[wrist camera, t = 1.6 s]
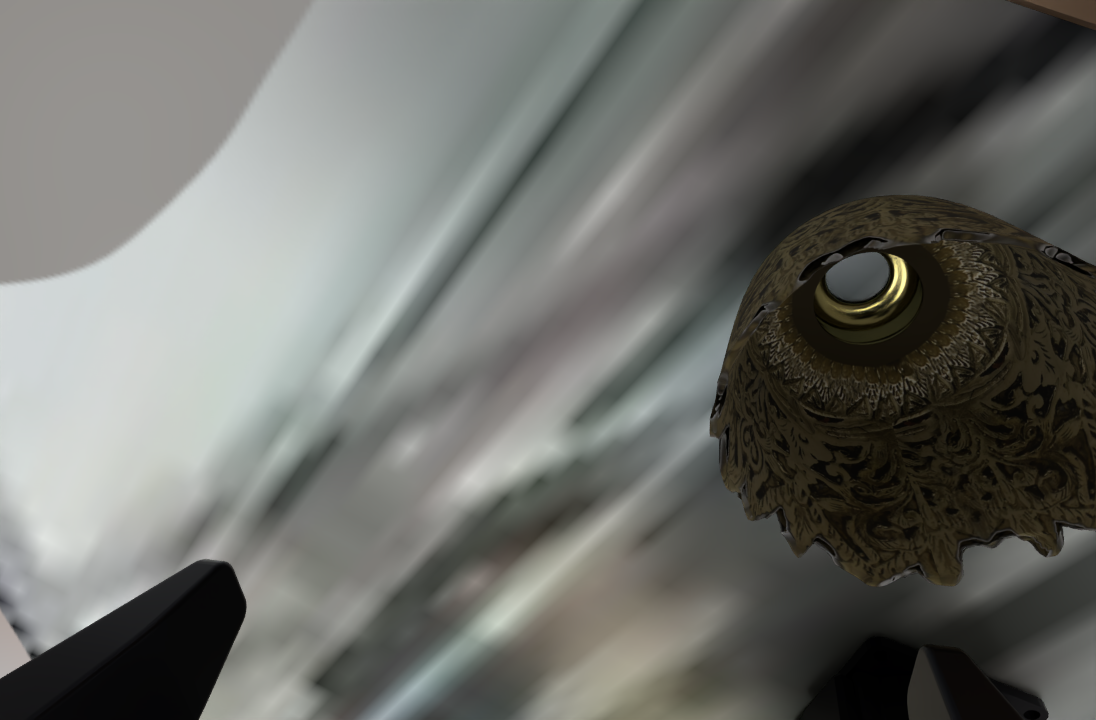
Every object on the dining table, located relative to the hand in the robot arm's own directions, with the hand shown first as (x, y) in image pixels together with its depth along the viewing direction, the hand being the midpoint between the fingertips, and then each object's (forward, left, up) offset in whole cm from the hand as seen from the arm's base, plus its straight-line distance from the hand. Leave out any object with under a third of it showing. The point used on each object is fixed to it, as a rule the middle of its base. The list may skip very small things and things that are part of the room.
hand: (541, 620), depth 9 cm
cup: (-5, -2, -14) cm, 15 cm away
